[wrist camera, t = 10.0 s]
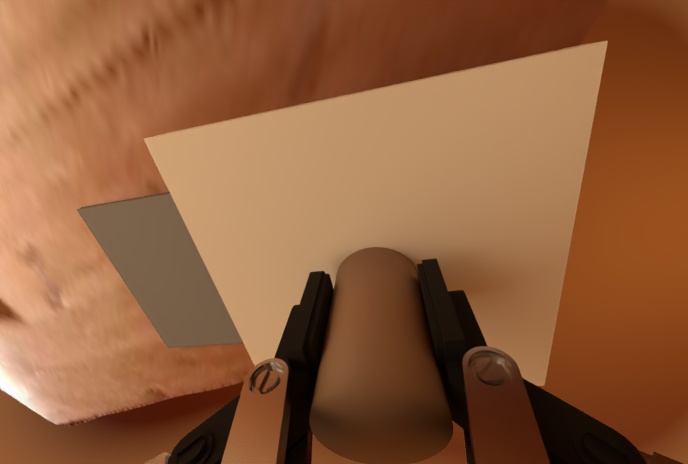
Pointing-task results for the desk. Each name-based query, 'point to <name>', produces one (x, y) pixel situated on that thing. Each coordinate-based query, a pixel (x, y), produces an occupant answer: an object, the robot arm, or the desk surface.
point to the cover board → (395, 229)
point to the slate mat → (162, 269)
